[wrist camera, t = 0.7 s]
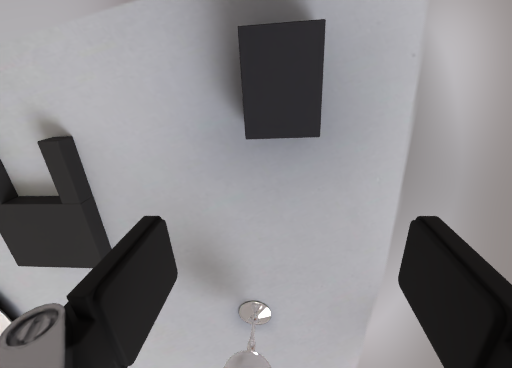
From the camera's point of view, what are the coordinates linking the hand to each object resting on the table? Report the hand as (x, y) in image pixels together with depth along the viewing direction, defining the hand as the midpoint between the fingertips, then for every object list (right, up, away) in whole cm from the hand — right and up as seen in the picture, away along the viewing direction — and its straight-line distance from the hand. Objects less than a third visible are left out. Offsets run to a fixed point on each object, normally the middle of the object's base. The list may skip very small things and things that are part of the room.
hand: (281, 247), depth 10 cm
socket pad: (-26, 0, +20) cm, 33 cm away
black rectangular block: (+1, +11, +13) cm, 17 cm away
